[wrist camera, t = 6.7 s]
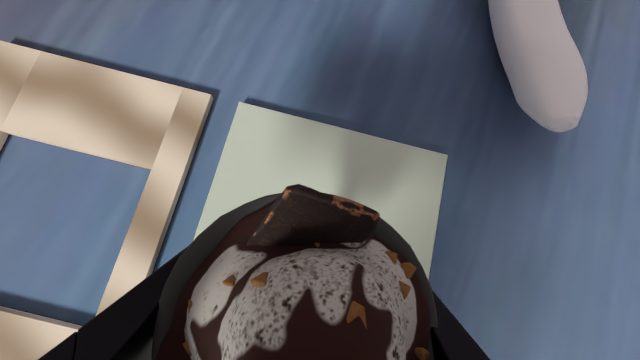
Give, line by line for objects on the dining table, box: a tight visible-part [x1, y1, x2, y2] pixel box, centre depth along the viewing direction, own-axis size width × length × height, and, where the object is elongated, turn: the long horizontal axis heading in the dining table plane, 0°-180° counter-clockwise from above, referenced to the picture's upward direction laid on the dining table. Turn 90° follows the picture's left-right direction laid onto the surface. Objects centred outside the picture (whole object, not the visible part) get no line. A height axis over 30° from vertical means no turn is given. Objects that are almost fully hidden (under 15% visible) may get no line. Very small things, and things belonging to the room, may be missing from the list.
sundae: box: [151, 184, 438, 360], centre depth 9 cm, size 7×7×15 cm
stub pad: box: [193, 102, 448, 279], centre depth 18 cm, size 20×15×1 cm
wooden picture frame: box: [0, 41, 214, 360], centre depth 18 cm, size 20×15×1 cm
